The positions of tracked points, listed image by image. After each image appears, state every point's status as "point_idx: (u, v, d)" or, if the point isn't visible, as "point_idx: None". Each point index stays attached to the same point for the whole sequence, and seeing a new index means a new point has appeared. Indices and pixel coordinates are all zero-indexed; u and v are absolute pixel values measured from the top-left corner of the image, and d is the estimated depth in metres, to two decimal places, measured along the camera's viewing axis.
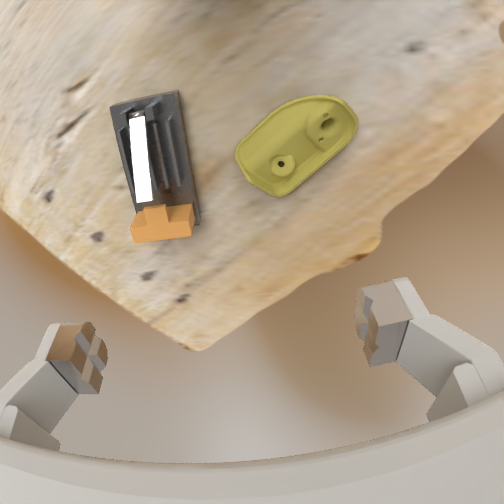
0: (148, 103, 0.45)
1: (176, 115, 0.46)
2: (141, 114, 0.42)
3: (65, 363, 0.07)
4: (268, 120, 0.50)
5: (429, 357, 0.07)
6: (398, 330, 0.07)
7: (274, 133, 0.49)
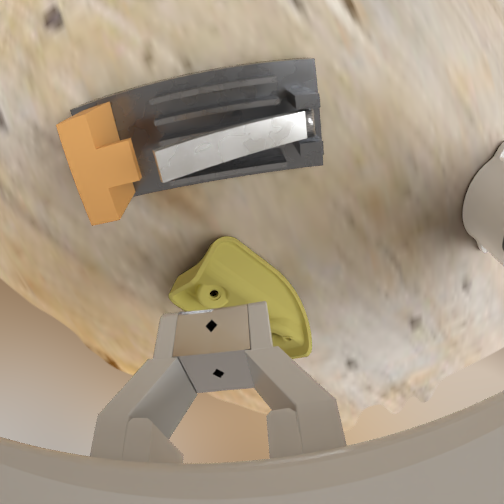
0: None
1: (287, 166, 0.32)
2: (311, 133, 0.26)
3: (202, 357, 0.07)
4: (270, 271, 0.42)
5: (269, 391, 0.07)
6: (237, 359, 0.07)
7: (257, 286, 0.41)
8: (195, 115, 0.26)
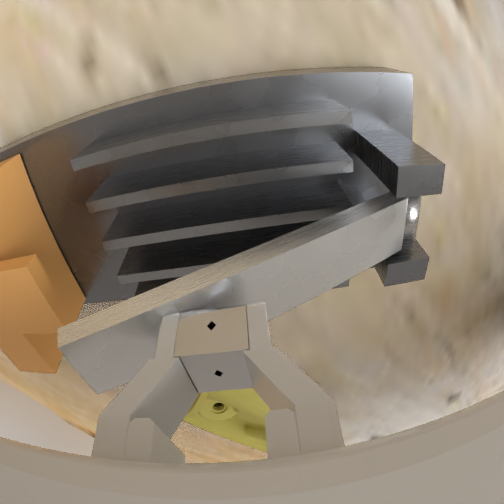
0: None
1: None
2: (410, 240, 0.12)
3: (204, 357, 0.07)
4: None
5: (268, 392, 0.07)
6: (235, 359, 0.07)
7: None
8: (167, 193, 0.12)
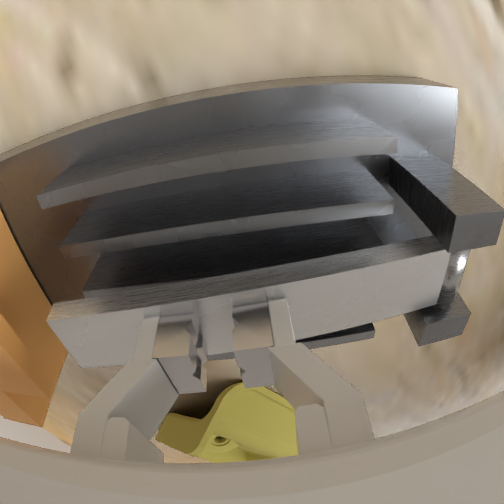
0: (425, 234, 0.13)
1: None
2: (448, 296, 0.09)
3: (181, 359, 0.07)
4: None
5: (293, 388, 0.07)
6: (259, 356, 0.07)
7: (283, 438, 0.25)
8: (158, 239, 0.10)
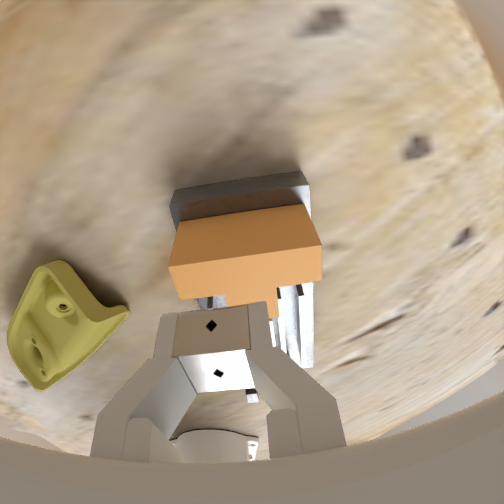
0: None
1: None
2: None
3: (202, 357, 0.07)
4: (100, 342, 0.37)
5: (270, 391, 0.07)
6: (237, 358, 0.07)
7: (86, 344, 0.34)
8: (280, 327, 0.30)
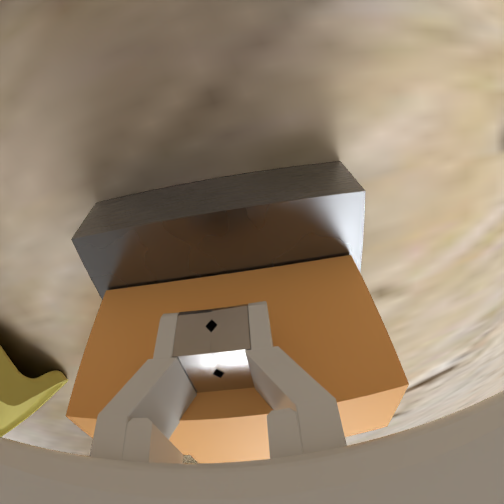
0: None
1: None
2: None
3: (202, 357, 0.07)
4: (39, 403, 0.23)
5: (269, 391, 0.07)
6: (237, 359, 0.07)
7: (19, 409, 0.21)
8: None
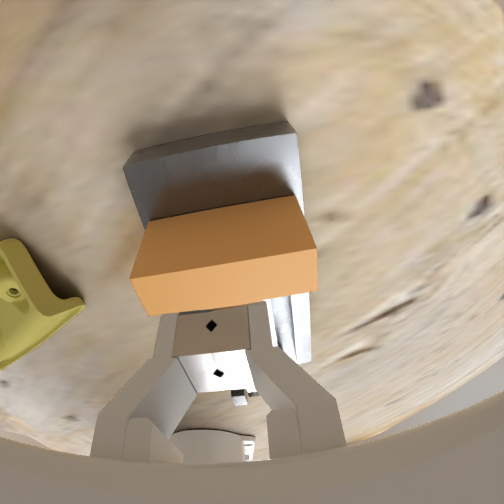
0: None
1: None
2: (253, 395, 0.29)
3: (202, 357, 0.07)
4: (50, 332, 0.31)
5: (269, 391, 0.07)
6: (237, 359, 0.07)
7: (35, 334, 0.28)
8: None
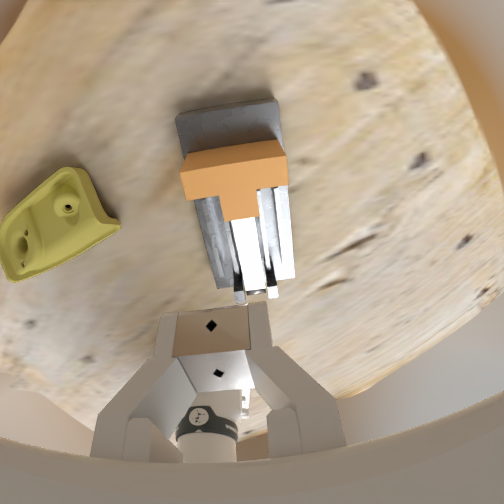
0: None
1: (214, 268, 0.43)
2: (250, 293, 0.41)
3: (202, 357, 0.07)
4: (81, 249, 0.43)
5: (269, 391, 0.07)
6: (237, 359, 0.07)
7: (72, 246, 0.40)
8: (261, 220, 0.37)
